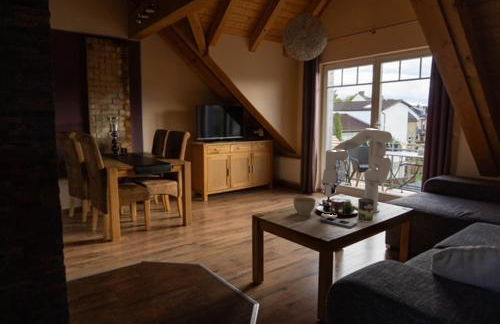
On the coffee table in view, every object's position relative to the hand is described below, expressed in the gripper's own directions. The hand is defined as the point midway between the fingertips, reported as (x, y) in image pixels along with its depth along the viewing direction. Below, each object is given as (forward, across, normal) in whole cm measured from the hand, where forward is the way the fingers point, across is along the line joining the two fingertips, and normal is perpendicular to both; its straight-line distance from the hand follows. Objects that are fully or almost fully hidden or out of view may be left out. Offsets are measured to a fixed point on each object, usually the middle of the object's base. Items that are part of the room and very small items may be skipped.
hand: (329, 192), depth 257 cm
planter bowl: (+17, +16, +8) cm, 25 cm away
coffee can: (+17, -23, -9) cm, 30 cm away
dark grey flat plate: (+17, -13, +10) cm, 24 cm away
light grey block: (+2, 0, 0) cm, 2 cm away
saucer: (+17, 0, 0) cm, 17 cm away
